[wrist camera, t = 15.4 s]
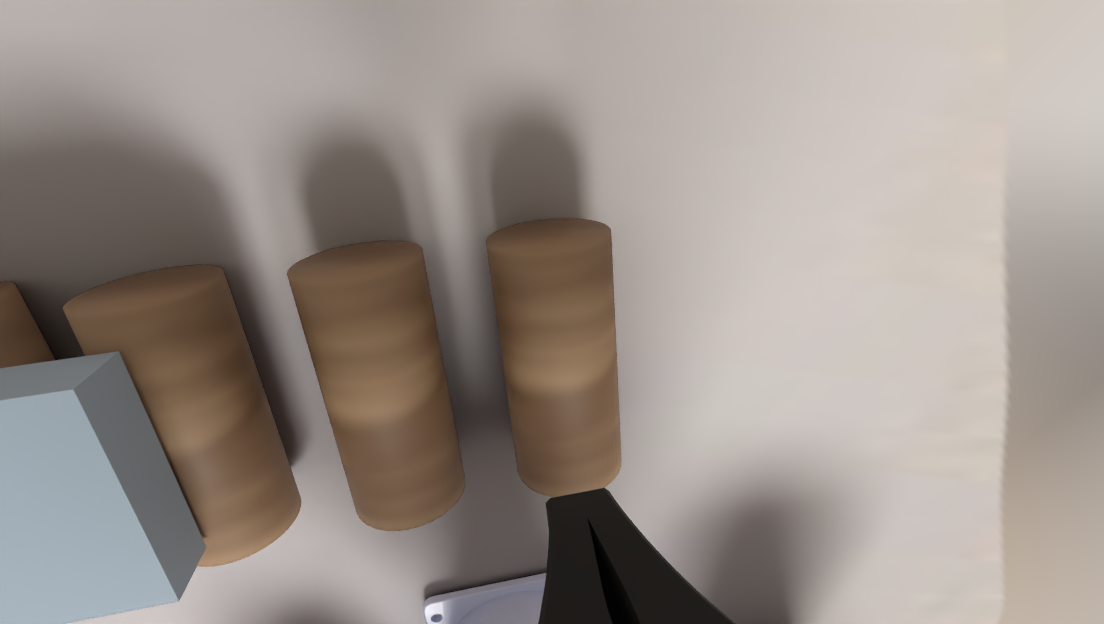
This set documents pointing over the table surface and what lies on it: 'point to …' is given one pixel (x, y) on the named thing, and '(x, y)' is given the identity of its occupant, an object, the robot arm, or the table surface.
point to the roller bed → (369, 378)
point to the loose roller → (19, 331)
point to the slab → (86, 497)
